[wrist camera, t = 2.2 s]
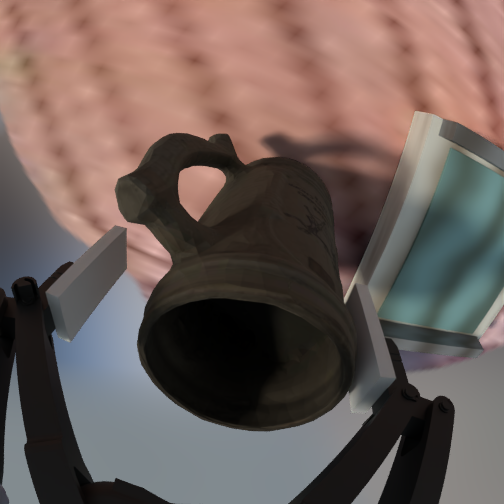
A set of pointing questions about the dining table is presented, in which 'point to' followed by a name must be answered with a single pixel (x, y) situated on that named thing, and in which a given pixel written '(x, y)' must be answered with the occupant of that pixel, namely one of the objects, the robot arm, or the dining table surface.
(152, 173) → the beer stein
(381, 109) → the dining table surface
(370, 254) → the tray
